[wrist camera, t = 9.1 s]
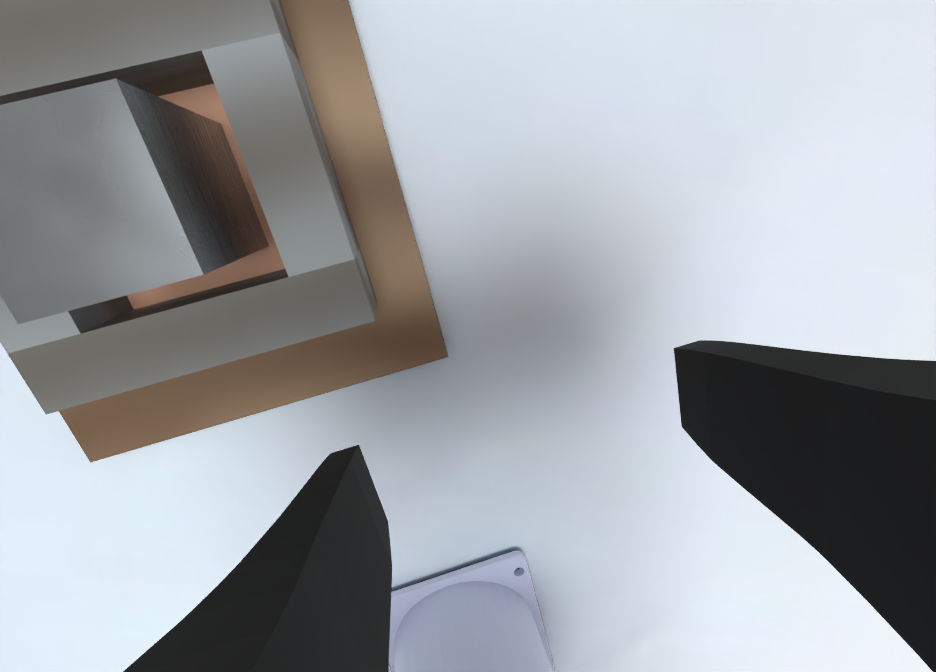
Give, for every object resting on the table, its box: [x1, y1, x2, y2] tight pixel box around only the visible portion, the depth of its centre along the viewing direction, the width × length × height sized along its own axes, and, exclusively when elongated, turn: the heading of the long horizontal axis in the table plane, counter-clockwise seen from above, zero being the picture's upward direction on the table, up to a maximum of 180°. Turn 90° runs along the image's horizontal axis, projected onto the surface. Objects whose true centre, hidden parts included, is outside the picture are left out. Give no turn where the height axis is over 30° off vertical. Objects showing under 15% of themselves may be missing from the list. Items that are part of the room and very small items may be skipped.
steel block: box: [0, 79, 269, 324], centre depth 12 cm, size 4×4×6 cm
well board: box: [0, 0, 448, 462], centre depth 14 cm, size 16×14×4 cm
